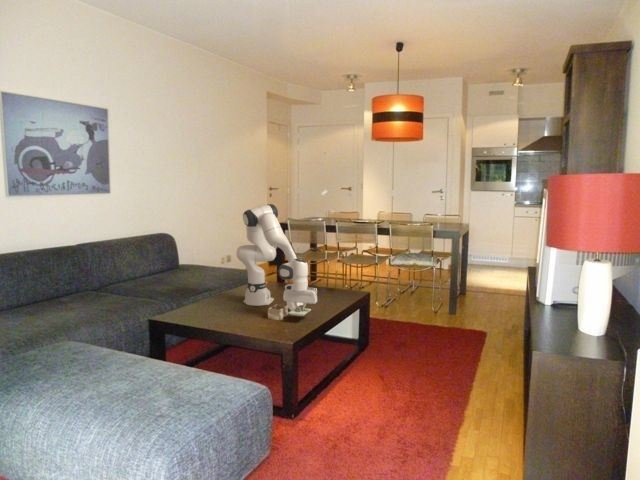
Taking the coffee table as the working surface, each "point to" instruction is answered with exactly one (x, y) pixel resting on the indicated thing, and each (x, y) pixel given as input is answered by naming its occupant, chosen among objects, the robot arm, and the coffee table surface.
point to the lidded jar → (292, 306)
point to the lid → (299, 311)
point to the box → (277, 312)
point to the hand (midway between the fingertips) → (300, 309)
